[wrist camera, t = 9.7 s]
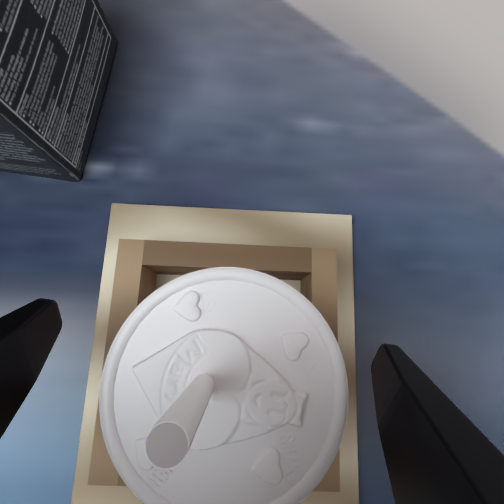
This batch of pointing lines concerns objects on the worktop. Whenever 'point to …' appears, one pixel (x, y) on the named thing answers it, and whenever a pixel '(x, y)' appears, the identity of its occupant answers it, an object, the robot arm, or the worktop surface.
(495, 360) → the worktop surface
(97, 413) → the bottle stand
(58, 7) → the small box
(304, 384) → the smoothie
